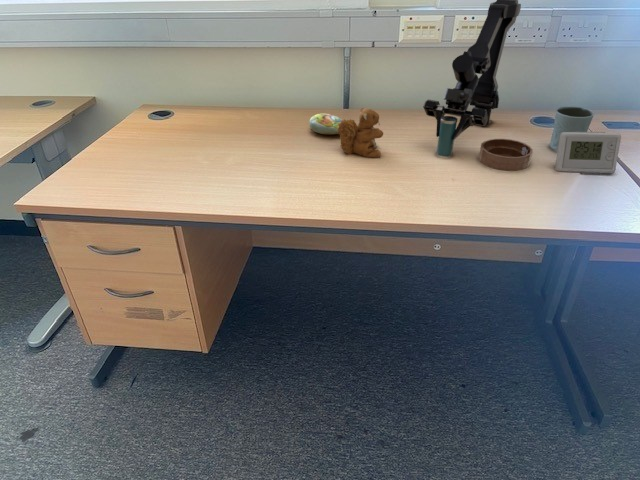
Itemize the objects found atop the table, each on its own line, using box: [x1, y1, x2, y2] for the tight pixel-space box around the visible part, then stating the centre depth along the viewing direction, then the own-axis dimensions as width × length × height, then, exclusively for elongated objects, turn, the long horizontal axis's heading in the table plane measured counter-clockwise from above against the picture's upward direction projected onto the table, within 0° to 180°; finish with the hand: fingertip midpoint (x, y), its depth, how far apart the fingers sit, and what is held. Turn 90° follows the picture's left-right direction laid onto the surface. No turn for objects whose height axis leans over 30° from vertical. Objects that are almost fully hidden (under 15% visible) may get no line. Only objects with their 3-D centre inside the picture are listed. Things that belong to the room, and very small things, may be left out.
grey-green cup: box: [549, 105, 595, 152], centre depth 139 cm, size 10×10×12 cm
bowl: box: [478, 138, 534, 172], centre depth 134 cm, size 14×14×4 cm
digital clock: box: [554, 131, 622, 175], centre depth 127 cm, size 16×9×11 cm, turn 72°
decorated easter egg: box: [308, 113, 343, 135], centre depth 157 cm, size 11×8×15 cm
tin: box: [436, 115, 459, 157], centre depth 137 cm, size 5×5×12 cm
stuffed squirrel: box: [337, 108, 384, 158], centre depth 140 cm, size 10×14×13 cm
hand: (444, 138), depth 136 cm, fingers closed on tin, 4 cm apart
